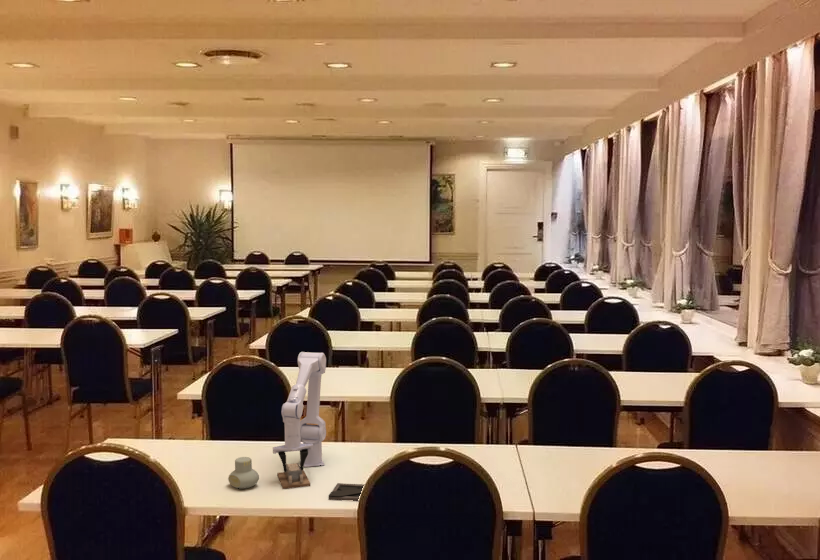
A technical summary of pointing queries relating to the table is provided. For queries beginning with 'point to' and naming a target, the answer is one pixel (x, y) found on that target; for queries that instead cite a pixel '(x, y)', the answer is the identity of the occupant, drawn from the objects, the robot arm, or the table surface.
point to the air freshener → (243, 474)
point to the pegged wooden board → (285, 485)
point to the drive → (293, 472)
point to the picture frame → (346, 492)
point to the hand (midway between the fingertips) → (293, 470)
